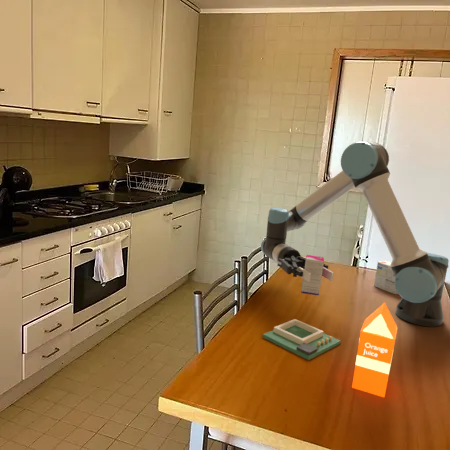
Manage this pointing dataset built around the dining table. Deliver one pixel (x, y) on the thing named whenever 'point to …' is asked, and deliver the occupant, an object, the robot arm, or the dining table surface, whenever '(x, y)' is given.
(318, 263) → the supplement box
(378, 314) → the orange juice
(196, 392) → the dining table surface
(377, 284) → the light bulb box
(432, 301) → the robot arm
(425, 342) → the dining table surface
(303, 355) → the socket board
